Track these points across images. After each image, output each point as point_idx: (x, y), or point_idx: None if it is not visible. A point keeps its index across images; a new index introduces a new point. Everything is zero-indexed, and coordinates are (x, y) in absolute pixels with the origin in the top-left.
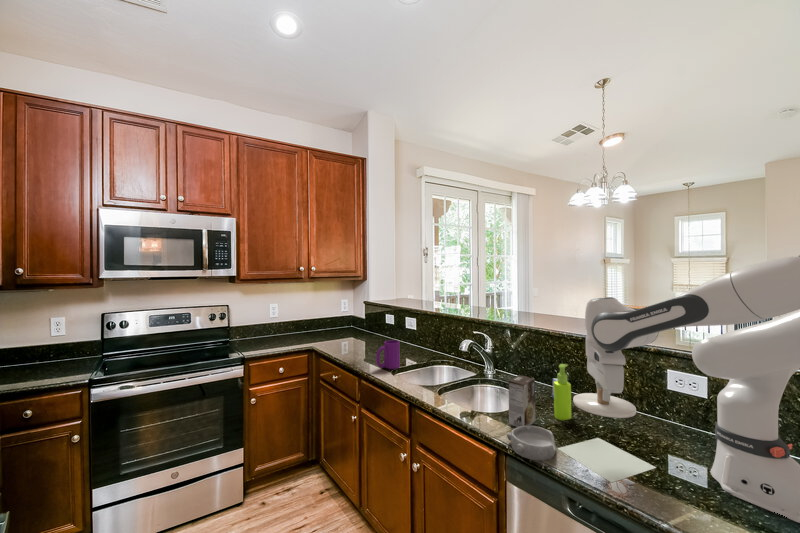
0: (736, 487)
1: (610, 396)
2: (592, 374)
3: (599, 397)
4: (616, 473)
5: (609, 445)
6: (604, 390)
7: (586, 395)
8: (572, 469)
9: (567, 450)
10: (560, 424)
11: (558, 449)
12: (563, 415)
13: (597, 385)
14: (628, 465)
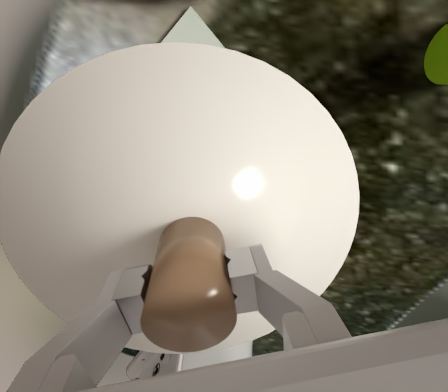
0: None
1: (319, 281)
2: (384, 382)
3: (160, 251)
4: None
5: None
6: (31, 363)
7: (305, 161)
8: (89, 54)
9: None
10: (395, 38)
11: (186, 12)
12: (443, 51)
13: (275, 295)
14: None
